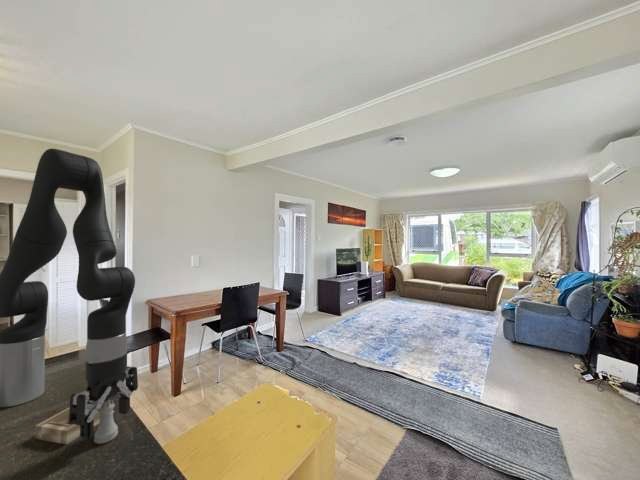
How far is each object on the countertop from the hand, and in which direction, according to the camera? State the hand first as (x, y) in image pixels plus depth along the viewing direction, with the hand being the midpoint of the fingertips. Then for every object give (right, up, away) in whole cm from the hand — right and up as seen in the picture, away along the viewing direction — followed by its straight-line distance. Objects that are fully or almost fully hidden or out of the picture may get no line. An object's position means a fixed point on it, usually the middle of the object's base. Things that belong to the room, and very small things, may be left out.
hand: (106, 424), depth 62 cm
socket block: (-11, -3, +3) cm, 12 cm away
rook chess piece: (0, -3, 0) cm, 3 cm away
